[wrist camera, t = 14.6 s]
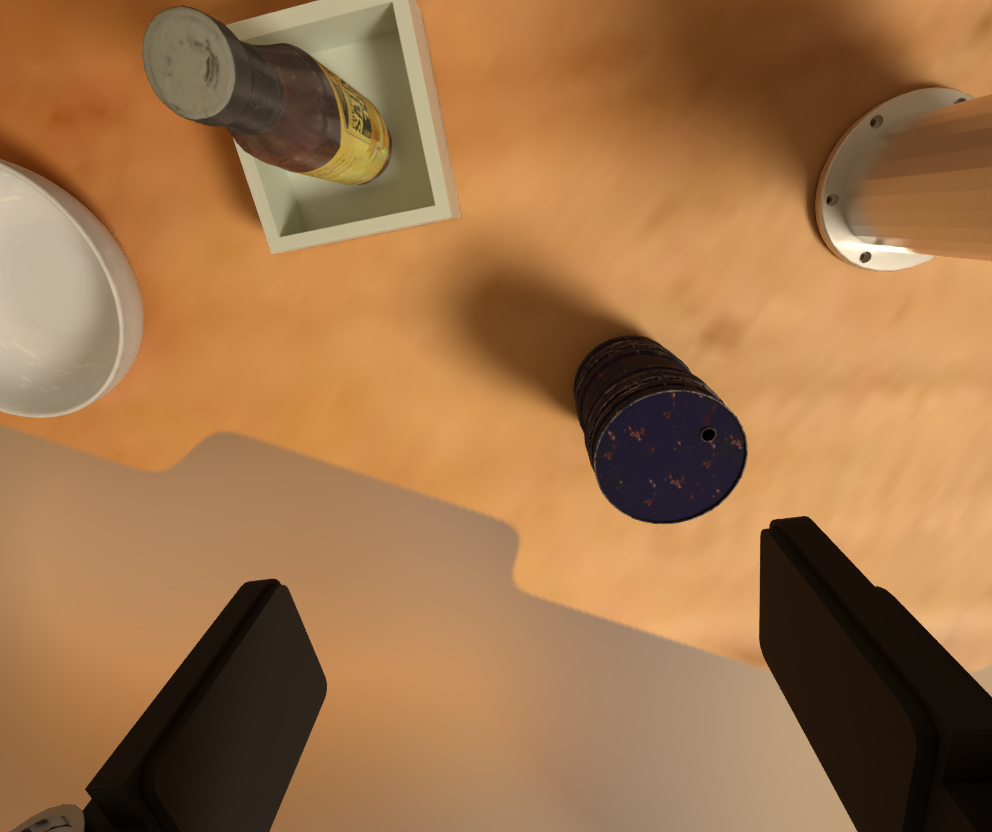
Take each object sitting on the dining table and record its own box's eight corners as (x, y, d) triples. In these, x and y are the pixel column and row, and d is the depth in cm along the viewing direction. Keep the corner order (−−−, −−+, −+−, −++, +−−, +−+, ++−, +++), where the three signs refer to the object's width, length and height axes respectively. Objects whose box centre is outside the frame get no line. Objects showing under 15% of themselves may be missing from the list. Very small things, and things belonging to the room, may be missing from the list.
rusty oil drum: (613, 454, 48) (649, 550, 34) (550, 381, 46) (561, 452, 32) (702, 392, 45) (779, 469, 32) (640, 310, 43) (694, 355, 29)
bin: (421, 13, 36) (403, -23, 31) (461, 217, 41) (451, 217, 36) (244, 58, 38) (197, 32, 32) (303, 249, 43) (271, 253, 37)
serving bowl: (-63, 118, 41) (-174, 100, 34) (189, 209, 42) (129, 207, 36) (-44, 351, 48) (-131, 372, 42) (169, 421, 50) (116, 451, 43)
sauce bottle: (411, 143, 38) (307, 76, 20) (360, 204, 40) (221, 193, 22) (347, 72, 37) (170, -71, 19) (297, 138, 39) (90, 68, 20)
